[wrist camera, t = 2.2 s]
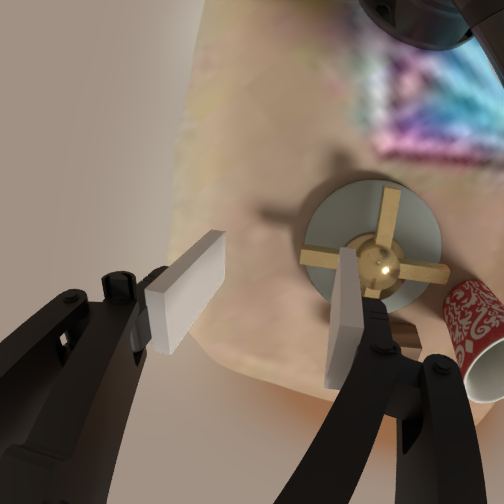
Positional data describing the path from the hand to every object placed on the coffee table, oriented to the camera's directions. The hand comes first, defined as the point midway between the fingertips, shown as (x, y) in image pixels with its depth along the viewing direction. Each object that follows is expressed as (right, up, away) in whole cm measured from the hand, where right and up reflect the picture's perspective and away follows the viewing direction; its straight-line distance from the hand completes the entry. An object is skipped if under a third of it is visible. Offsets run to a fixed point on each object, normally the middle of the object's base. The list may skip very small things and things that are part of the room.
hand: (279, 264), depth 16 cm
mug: (+28, -7, +19) cm, 34 cm away
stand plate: (+12, +1, +19) cm, 23 cm away
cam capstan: (+12, 0, +18) cm, 22 cm away
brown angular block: (+16, -10, +23) cm, 29 cm away
